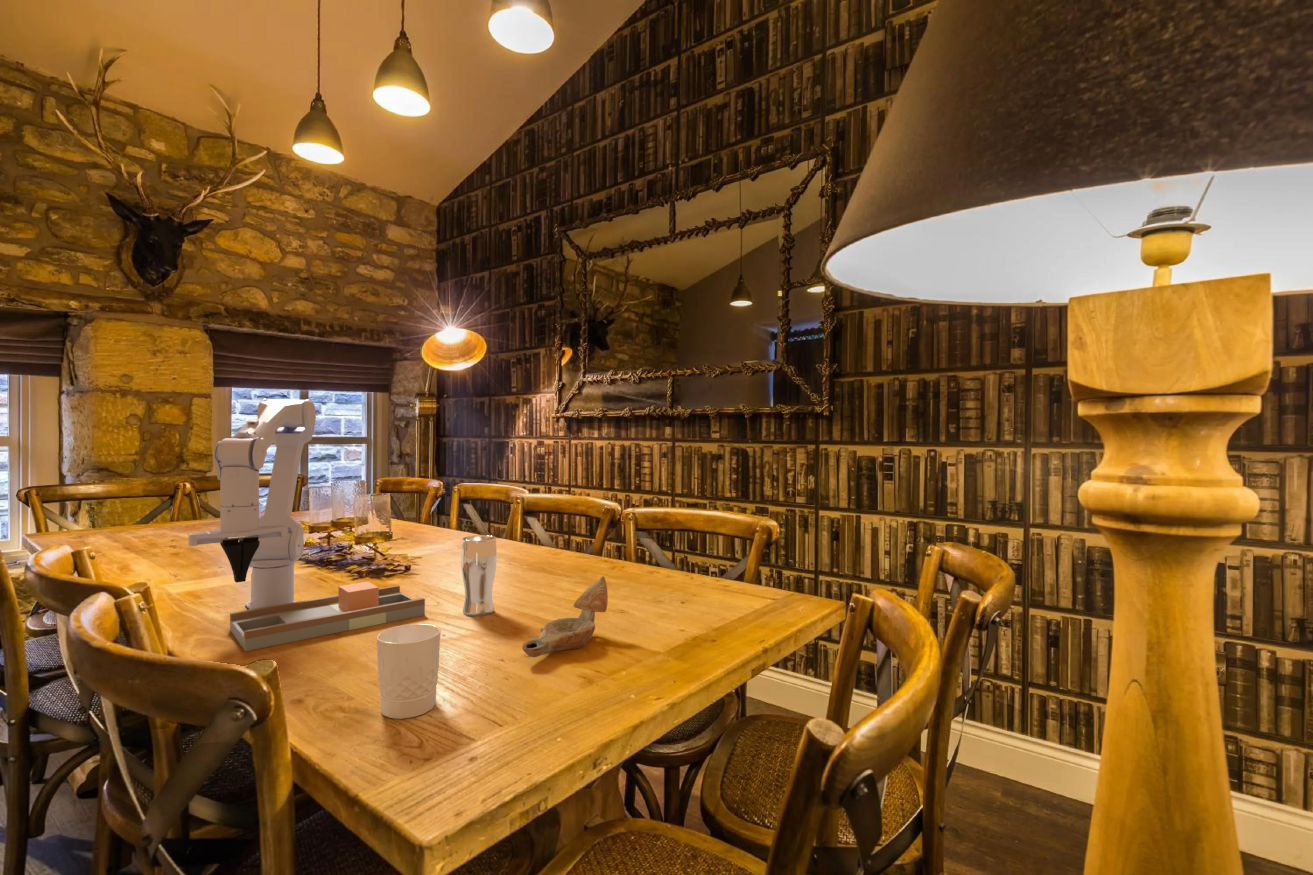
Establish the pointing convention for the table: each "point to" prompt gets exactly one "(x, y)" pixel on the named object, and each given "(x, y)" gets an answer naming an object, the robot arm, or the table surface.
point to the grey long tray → (317, 618)
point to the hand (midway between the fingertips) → (239, 580)
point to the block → (358, 596)
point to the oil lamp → (571, 624)
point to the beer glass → (478, 573)
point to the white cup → (408, 669)
